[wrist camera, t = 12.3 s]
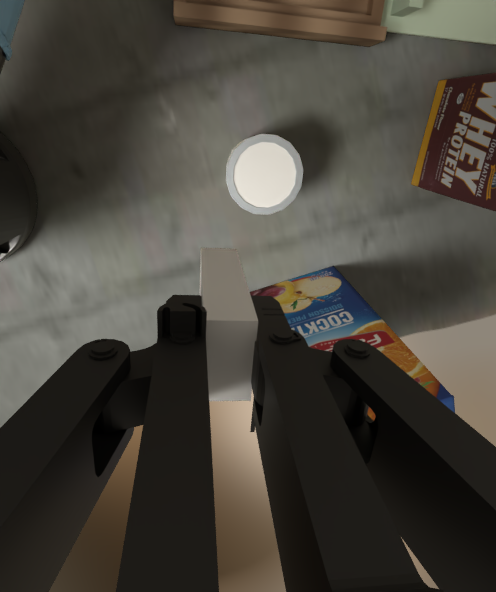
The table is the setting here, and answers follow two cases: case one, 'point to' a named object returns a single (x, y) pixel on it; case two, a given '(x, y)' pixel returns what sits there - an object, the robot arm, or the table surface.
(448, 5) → the lid
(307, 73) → the table surface
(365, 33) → the box
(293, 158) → the white cup
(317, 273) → the juice carton
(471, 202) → the supplement box
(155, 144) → the table surface
